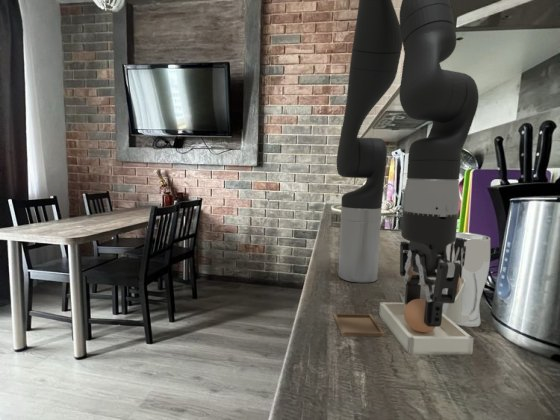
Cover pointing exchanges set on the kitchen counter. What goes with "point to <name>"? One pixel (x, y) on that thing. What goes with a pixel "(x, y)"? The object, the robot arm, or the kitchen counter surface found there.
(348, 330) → the holder
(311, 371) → the kitchen counter surface
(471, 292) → the beer glass
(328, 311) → the kitchen counter surface
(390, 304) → the tray
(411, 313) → the egg
